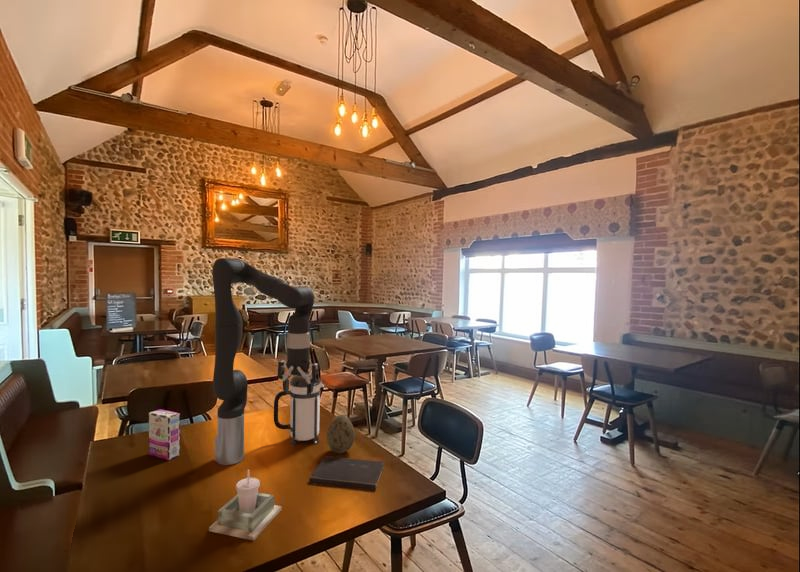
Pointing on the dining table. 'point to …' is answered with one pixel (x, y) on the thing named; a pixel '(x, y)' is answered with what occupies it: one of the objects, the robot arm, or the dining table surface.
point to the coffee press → (301, 410)
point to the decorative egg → (340, 434)
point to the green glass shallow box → (246, 518)
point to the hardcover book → (348, 473)
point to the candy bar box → (164, 434)
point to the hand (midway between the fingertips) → (297, 392)
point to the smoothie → (247, 493)
